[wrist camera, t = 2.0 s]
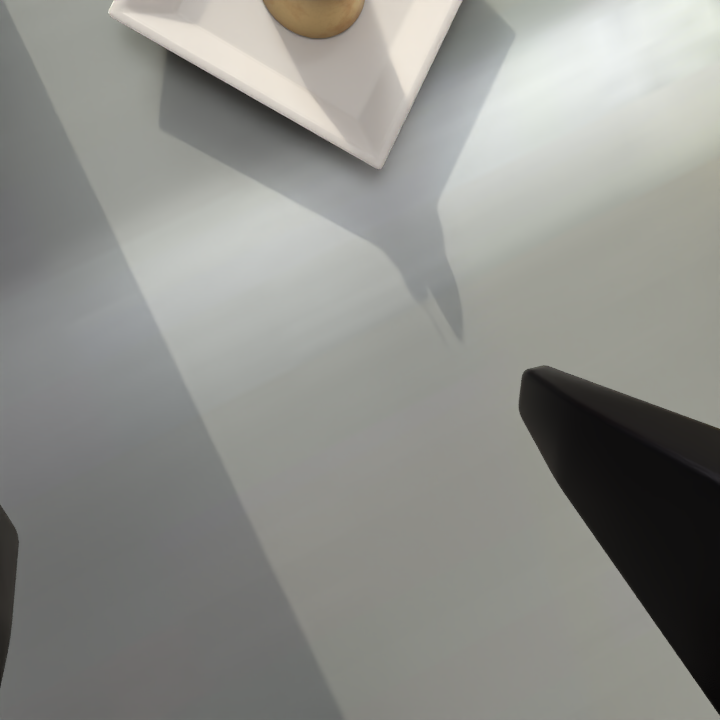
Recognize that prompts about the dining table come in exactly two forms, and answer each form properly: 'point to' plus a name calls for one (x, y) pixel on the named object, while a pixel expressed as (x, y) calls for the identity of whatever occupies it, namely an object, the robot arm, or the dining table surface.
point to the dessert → (309, 57)
